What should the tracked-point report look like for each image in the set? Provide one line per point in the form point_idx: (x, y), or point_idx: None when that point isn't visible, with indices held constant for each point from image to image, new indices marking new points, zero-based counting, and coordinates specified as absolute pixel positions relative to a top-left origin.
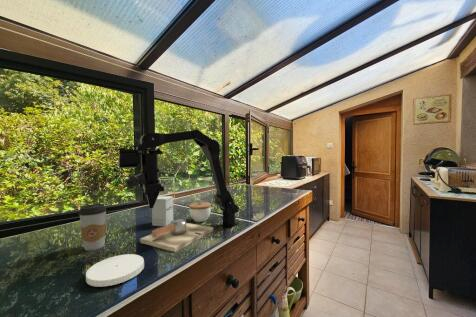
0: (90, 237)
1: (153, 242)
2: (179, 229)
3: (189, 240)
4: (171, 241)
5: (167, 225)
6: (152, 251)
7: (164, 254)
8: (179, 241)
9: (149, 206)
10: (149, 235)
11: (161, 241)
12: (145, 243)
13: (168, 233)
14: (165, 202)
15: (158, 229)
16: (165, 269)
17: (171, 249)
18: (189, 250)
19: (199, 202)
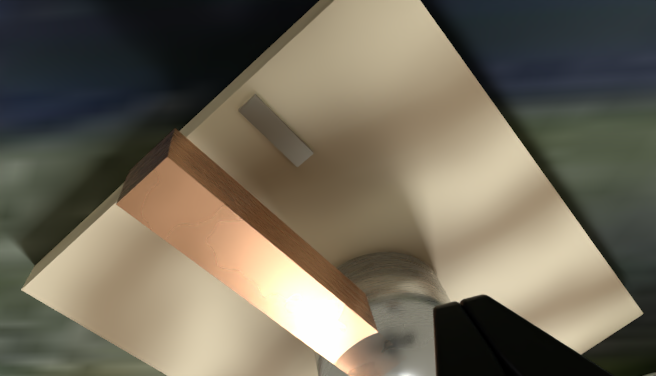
0: None
1: (217, 107)
2: (314, 350)
3: (167, 372)
4: (179, 259)
5: (318, 303)
6: (94, 92)
7: (3, 193)
8: (158, 315)
9: (448, 332)
10: (437, 54)
11: None
12: (307, 12)
13: (400, 227)
14: None
15: (202, 226)
16: None
17: (54, 250)
18: (49, 350)
19: None
